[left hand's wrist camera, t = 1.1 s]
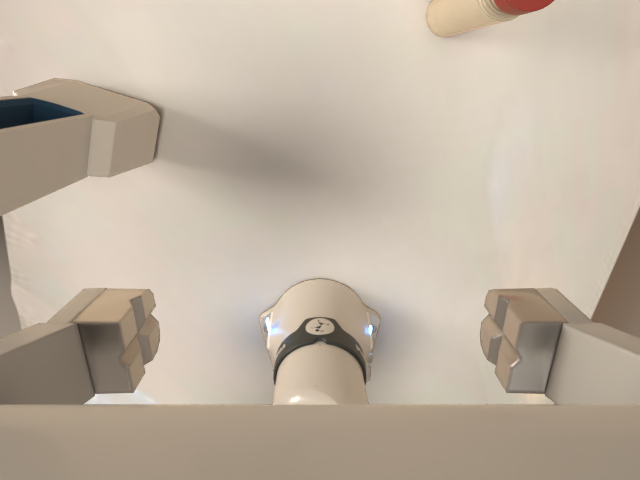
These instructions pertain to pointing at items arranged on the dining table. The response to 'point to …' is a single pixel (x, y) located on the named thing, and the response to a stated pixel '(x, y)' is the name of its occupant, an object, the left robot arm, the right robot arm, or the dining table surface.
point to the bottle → (463, 16)
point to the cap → (521, 6)
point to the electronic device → (69, 138)
